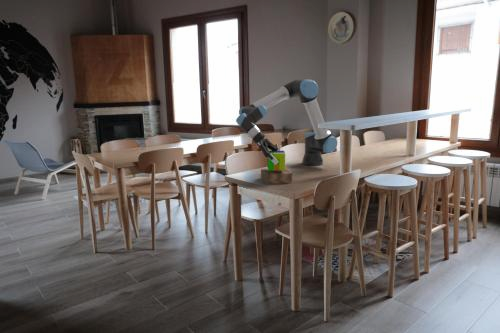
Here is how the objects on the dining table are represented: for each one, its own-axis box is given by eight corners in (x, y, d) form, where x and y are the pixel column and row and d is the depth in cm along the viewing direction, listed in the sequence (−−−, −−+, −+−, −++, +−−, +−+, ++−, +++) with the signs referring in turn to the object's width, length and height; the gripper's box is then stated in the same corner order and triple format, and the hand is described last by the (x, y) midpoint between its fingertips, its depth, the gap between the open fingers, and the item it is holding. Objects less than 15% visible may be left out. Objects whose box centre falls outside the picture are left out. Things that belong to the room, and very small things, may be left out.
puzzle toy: (283, 166, 244) (283, 150, 242) (285, 170, 234) (285, 153, 232) (267, 166, 244) (267, 150, 242) (268, 170, 234) (268, 153, 232)
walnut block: (283, 177, 249) (284, 168, 248) (291, 183, 235) (291, 173, 233) (260, 178, 246) (260, 169, 244) (267, 184, 231) (267, 174, 230)
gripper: (258, 136, 252) (281, 161, 250) (244, 142, 229) (269, 169, 227) (266, 128, 249) (289, 153, 247) (253, 133, 226) (278, 160, 224)
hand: (280, 161), depth 237 cm, fingers closed on puzzle toy, 12 cm apart
